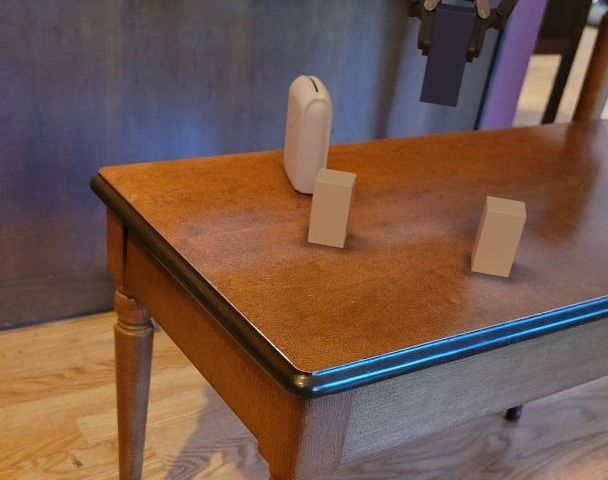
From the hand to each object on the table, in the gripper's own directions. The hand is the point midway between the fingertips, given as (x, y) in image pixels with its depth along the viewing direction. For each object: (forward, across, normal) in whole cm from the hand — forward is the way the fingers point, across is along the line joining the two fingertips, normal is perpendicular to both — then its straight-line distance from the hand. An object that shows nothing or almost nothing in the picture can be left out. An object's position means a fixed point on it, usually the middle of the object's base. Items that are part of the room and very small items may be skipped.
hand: (448, 53), depth 77 cm
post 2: (+19, +9, +8) cm, 22 cm away
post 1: (+19, -9, +8) cm, 22 cm away
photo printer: (+8, -15, +19) cm, 26 cm away
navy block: (+2, 0, +5) cm, 5 cm away
